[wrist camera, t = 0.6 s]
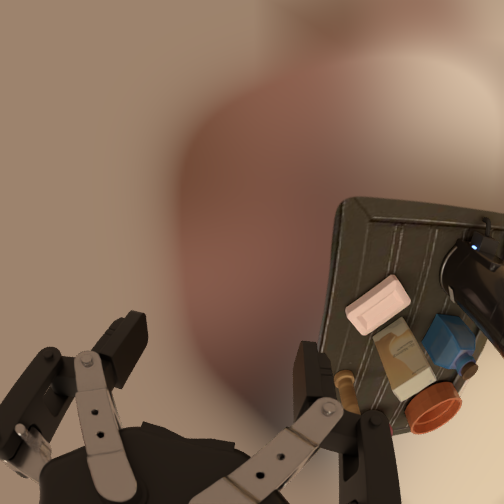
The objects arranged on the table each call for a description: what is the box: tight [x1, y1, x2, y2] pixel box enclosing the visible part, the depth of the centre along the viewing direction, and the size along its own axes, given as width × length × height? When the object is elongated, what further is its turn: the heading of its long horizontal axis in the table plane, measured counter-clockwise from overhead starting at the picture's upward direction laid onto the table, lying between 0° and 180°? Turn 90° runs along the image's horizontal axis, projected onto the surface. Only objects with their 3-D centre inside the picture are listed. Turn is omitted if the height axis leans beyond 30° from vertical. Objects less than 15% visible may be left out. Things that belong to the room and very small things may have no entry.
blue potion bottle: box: [422, 314, 478, 380], centre depth 34 cm, size 6×6×12 cm
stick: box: [334, 370, 361, 415], centre depth 38 cm, size 4×4×14 cm
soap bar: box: [345, 275, 411, 335], centre depth 37 cm, size 5×9×2 cm, turn 133°
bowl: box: [405, 382, 462, 434], centre depth 44 cm, size 13×13×6 cm
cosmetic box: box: [372, 317, 437, 402], centre depth 35 cm, size 6×4×12 cm
